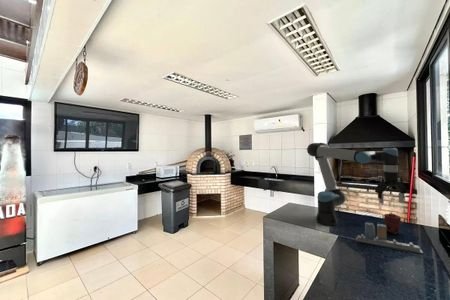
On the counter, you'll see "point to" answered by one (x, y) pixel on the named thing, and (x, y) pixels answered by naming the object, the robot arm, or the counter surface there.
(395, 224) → the mechanical component
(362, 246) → the counter surface
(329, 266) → the counter surface
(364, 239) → the rail
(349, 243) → the counter surface
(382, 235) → the pale blue-grey block
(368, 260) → the counter surface
